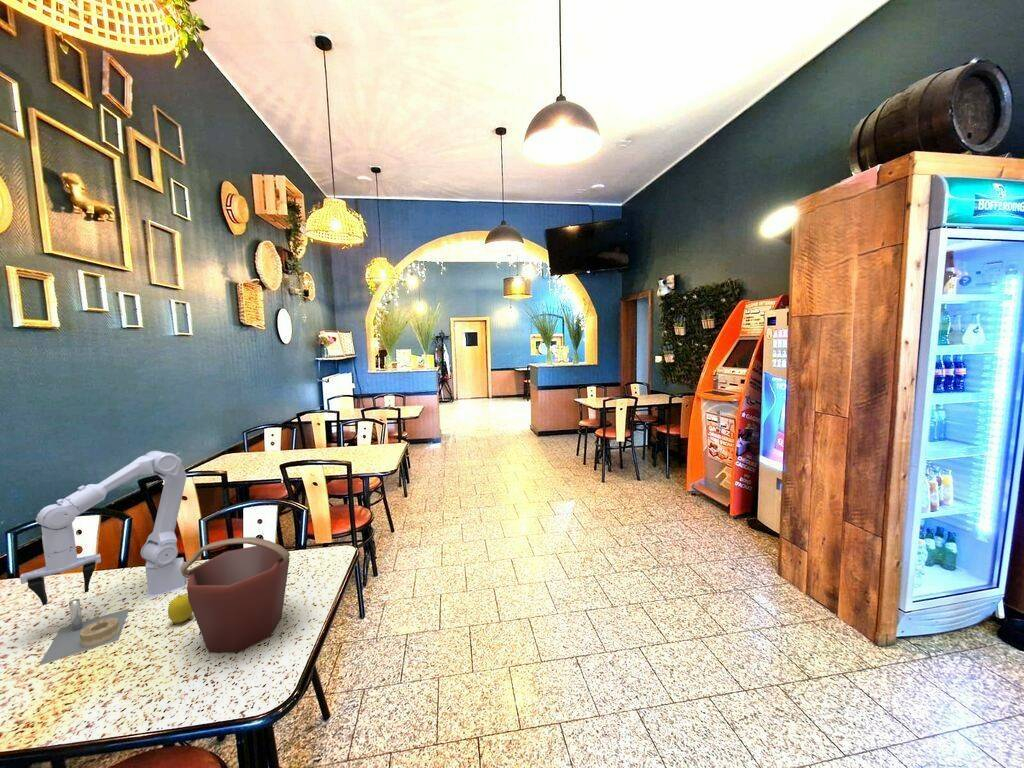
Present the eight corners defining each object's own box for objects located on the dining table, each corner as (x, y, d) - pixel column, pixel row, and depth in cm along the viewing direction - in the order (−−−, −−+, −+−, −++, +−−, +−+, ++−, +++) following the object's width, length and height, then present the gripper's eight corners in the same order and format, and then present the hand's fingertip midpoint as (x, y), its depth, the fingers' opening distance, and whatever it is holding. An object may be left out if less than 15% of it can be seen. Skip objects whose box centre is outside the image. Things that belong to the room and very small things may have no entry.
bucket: (164, 661, 99) (154, 561, 97) (231, 604, 121) (223, 522, 119) (263, 661, 98) (254, 560, 96) (311, 604, 120) (305, 521, 118)
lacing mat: (129, 610, 120) (129, 608, 120) (118, 642, 107) (118, 640, 107) (60, 630, 112) (60, 628, 112) (39, 667, 99) (38, 665, 99)
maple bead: (121, 624, 113) (120, 614, 113) (116, 638, 107) (115, 627, 107) (85, 635, 109) (84, 625, 109) (78, 650, 103) (76, 639, 103)
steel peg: (83, 625, 113) (80, 597, 113) (82, 629, 112) (78, 601, 111) (73, 628, 112) (69, 600, 111) (71, 632, 110) (67, 604, 110)
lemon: (199, 619, 115) (196, 591, 115) (176, 631, 110) (173, 603, 110) (187, 614, 118) (185, 587, 117) (165, 626, 112) (162, 598, 112)
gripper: (98, 535, 118) (104, 580, 119) (20, 554, 108) (27, 603, 109) (98, 542, 113) (103, 589, 114) (16, 563, 103) (23, 614, 104)
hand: (66, 597), depth 112 cm, fingers open, 7 cm apart
